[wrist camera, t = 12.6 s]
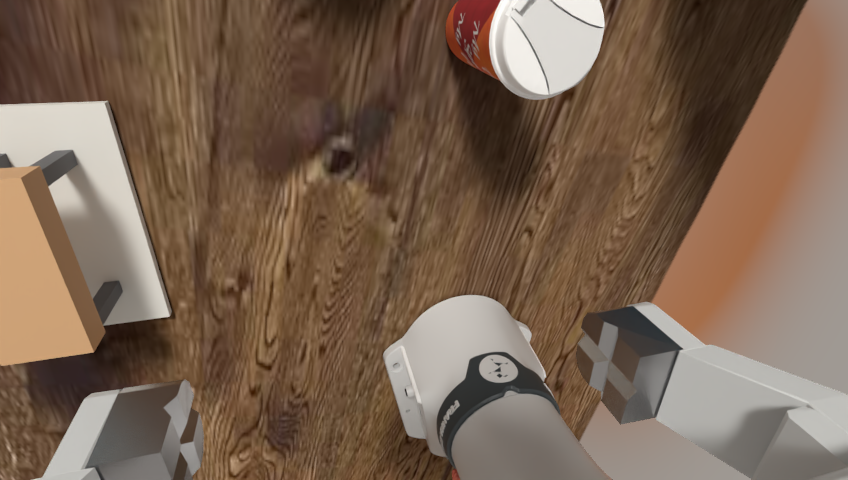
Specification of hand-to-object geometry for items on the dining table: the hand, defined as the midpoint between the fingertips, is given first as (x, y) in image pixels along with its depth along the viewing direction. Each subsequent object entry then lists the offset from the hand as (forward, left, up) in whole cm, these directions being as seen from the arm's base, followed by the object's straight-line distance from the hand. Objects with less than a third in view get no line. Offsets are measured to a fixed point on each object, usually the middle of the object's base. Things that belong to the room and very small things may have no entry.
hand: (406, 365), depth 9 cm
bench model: (-10, +22, -33) cm, 41 cm away
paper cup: (+5, -14, -34) cm, 37 cm away
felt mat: (-10, +22, -34) cm, 42 cm away
